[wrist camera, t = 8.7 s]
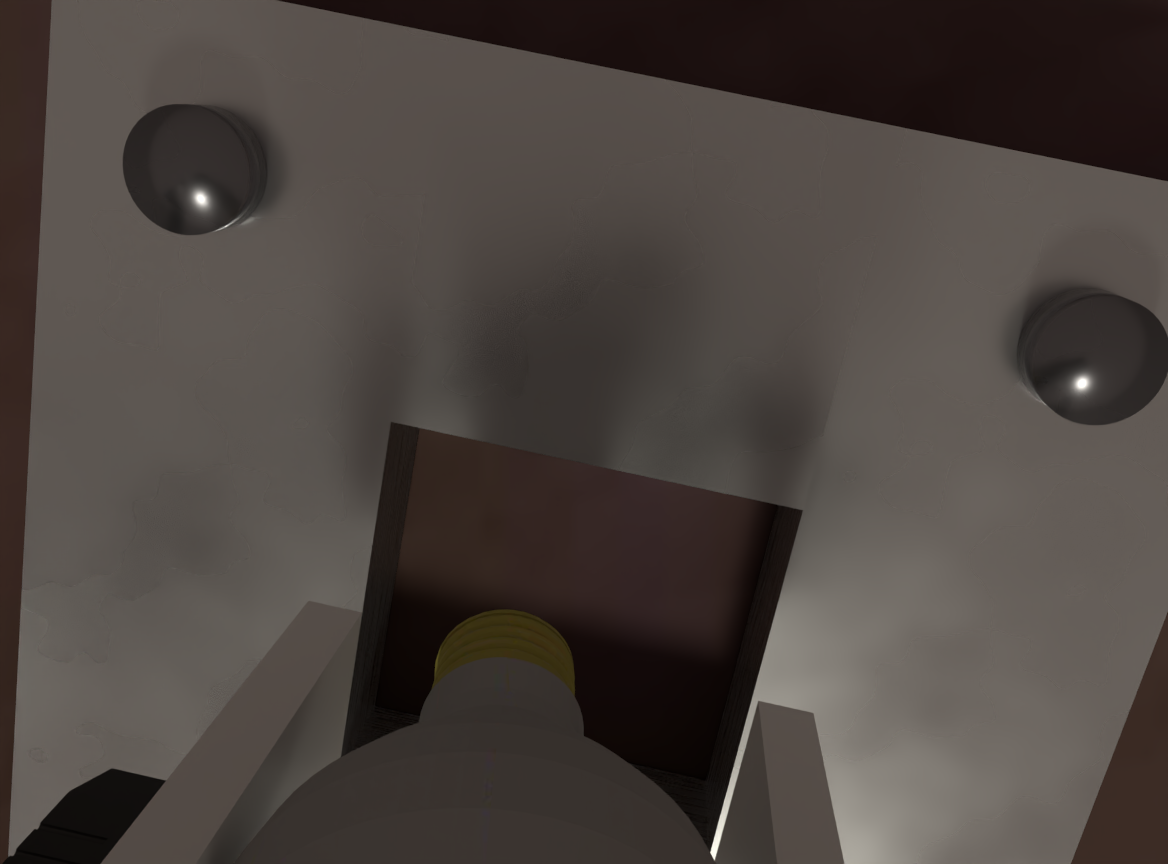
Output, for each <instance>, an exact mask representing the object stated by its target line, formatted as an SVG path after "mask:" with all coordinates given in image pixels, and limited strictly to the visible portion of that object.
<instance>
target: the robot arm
mask: <svg viewBox="0 0 1168 864" xmlns="http://www.w3.org/2000/svg"><path fill="white" fill-rule="evenodd" d="M361 616H362V612H357V611H353V610H348V609H344V608H339V607H335V606H330V605H326V604H321V603H317V602H312V601H308V602H307V603H306V604H305V606H304V607H303V608H302V609H301V611H300V612H299V613H298V614H297V616H296V617H295V618H294V620H293V621H292V622H291V623H290V625H289V626H288V627H287V628H286V630H285V631H284V632H283V633H282V635H281V636H280V637H279V639H278V640H277V641H276V642H275V644H274V645H273V646H272V647H271V649H270V650H269V651H268V652H267V654H266V655H265V656H264V658H263V659H262V660H261V661H260V663H259V664H258V665H257V666H256V668H255V669H254V670H253V671H252V673H251V674H250V675H249V676H248V678H247V679H246V680H245V682H244V683H243V684H242V685H241V687H240V688H239V689H238V690H237V692H236V693H235V694H234V695H233V697H232V698H231V699H230V701H229V702H228V703H227V704H226V706H225V707H224V708H223V709H222V711H221V712H220V713H219V714H218V716H217V717H216V718H215V720H214V721H213V722H212V723H211V725H210V726H209V727H208V728H207V730H206V731H205V732H204V733H203V735H202V736H201V737H200V739H199V740H198V741H197V742H196V744H195V745H194V746H193V747H192V749H191V750H190V751H189V752H188V754H187V755H186V756H185V758H184V759H183V760H182V761H181V763H180V764H179V765H178V766H177V768H176V769H175V770H174V771H173V773H172V774H171V775H170V777H169V778H168V779H167V780H162V779H157V778H153V777H148V776H144V775H140V774H135V773H131V772H127V771H122V770H118V769H114V768H111V769H109V770H107V771H106V772H104V773H102V774H100V775H98V776H96V777H95V778H93V779H91V780H89V781H87V782H85V783H83V784H82V785H80V786H78V787H76V788H74V789H72V790H70V791H69V792H68V793H67V794H66V795H65V796H64V797H63V798H62V800H61V801H60V802H59V803H58V804H57V805H56V806H55V807H54V808H53V809H52V810H51V811H50V813H49V814H48V815H47V816H46V817H45V818H44V819H43V820H42V821H41V822H40V826H39V828H38V829H34V830H33V831H32V832H31V833H30V834H29V835H28V836H27V837H26V839H25V840H24V841H23V842H22V843H21V844H20V845H19V846H18V847H17V848H16V852H15V854H14V855H13V856H9V857H8V858H7V859H6V860H5V861H4V862H3V864H234V862H235V861H236V860H237V858H238V857H239V856H240V855H241V853H242V852H243V851H244V849H245V848H246V847H247V845H248V844H249V843H250V842H251V841H252V839H253V838H254V837H255V836H256V835H257V833H258V832H259V831H260V830H261V828H262V827H263V826H264V825H265V824H266V822H267V821H268V820H269V819H270V818H271V816H272V815H273V814H274V813H275V812H276V810H277V809H278V808H279V807H280V806H281V805H282V804H283V803H284V801H285V800H286V799H287V798H288V797H289V796H290V795H291V794H292V793H293V792H294V791H295V790H296V789H297V788H299V787H300V786H301V785H302V784H303V783H304V782H306V781H307V780H308V779H309V778H310V777H311V776H313V775H314V774H316V773H317V772H319V771H320V770H321V769H323V768H324V767H326V766H327V765H329V764H330V763H332V762H334V761H335V760H337V759H339V758H340V756H341V750H342V743H343V736H344V729H345V723H346V716H347V709H348V703H349V696H350V689H351V683H352V676H353V669H354V663H355V656H356V649H357V643H358V636H359V629H360V623H361ZM715 862H716V864H844V859H843V854H842V849H841V845H840V840H839V835H838V830H837V825H836V820H835V815H834V810H833V806H832V801H831V796H830V791H829V786H828V781H827V776H826V772H825V767H824V762H823V757H822V752H821V747H820V742H819V737H818V733H817V728H816V723H815V718H814V713H811V712H807V711H802V710H798V709H793V708H789V707H784V706H780V705H775V704H771V703H766V702H762V701H758V704H757V707H756V711H755V715H754V718H753V722H752V726H751V729H750V733H749V737H748V740H747V744H746V748H745V751H744V755H743V759H742V762H741V766H740V770H739V773H738V777H737V780H736V784H735V788H734V791H733V795H732V799H731V802H730V806H729V810H728V813H727V817H726V821H725V824H724V828H723V832H722V835H721V839H720V843H719V846H718V850H717V854H716V857H715Z"/></svg>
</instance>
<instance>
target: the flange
mask: <svg viewBox="0 0 1168 864" xmlns="http://www.w3.org/2000/svg"><path fill="white" fill-rule="evenodd" d="M419 428H423V429H427V430H432V431H437V432H441V433H446V434H451V435H455V436H460V437H465V438H469V439H474V440H479V441H483V442H488V443H493V444H497V445H502V446H507V447H511V448H516V449H521V450H525V451H530V452H534V453H539V454H544V455H548V456H553V457H558V458H562V459H567V460H572V461H576V462H581V463H586V464H590V465H595V466H600V467H604V468H609V469H614V470H618V471H623V472H628V473H632V474H637V475H642V476H646V477H651V478H656V479H660V480H665V481H669V482H674V483H679V484H683V485H688V486H693V487H697V488H702V489H707V490H711V491H716V492H721V493H725V494H730V495H735V496H739V497H744V498H749V499H753V500H758V501H763V502H767V503H772V504H777V505H778V506H777V510H776V514H775V518H774V522H773V525H772V529H771V533H770V537H769V541H768V544H767V548H766V552H765V556H764V560H763V563H762V567H761V571H760V575H759V579H758V582H757V586H756V590H755V594H754V598H753V601H752V605H751V609H750V613H749V617H748V620H747V624H746V628H745V632H744V636H743V639H742V643H741V647H740V651H739V655H738V658H737V662H736V666H735V670H734V674H733V677H732V681H731V685H730V689H729V693H728V696H727V700H726V704H725V708H724V712H723V715H722V719H721V723H720V727H719V731H718V734H717V738H716V742H715V746H714V750H713V753H712V757H711V761H710V765H709V769H708V772H707V776H706V780H704V779H700V778H695V777H691V776H686V775H682V774H677V773H673V772H668V771H664V770H659V769H655V768H650V767H646V766H641V765H637V764H632V763H629V764H630V765H632V766H633V767H634V768H636V769H637V770H639V771H640V772H641V773H643V774H644V775H645V776H646V777H648V778H649V779H650V780H652V781H653V782H654V783H656V784H657V785H658V786H659V787H660V788H661V789H662V790H663V791H664V792H665V793H666V794H667V795H669V796H670V797H671V798H672V799H673V800H674V801H675V802H676V804H677V805H678V806H679V807H680V808H681V809H682V811H683V812H684V813H685V814H686V815H687V816H688V818H689V819H690V821H691V822H692V823H693V825H694V826H695V828H696V829H697V831H698V832H699V834H700V835H701V837H702V839H703V841H704V842H705V844H706V846H707V848H708V850H709V851H710V853H711V855H712V857H713V859H714V860H715V857H716V854H717V850H718V846H719V843H720V839H721V835H722V832H723V828H724V824H725V821H726V817H727V813H728V810H729V806H730V802H731V799H732V795H733V791H734V788H735V784H736V780H737V777H738V773H739V770H740V766H741V762H742V759H743V755H744V751H745V748H746V744H747V740H748V737H749V733H750V729H751V726H752V722H753V718H754V715H755V711H756V707H757V704H758V701H762V702H766V703H771V704H775V705H780V706H784V707H789V708H793V709H798V710H802V711H807V712H811V713H814V718H815V723H816V728H817V733H818V737H819V742H820V747H821V752H822V757H823V762H824V767H825V772H826V776H827V781H828V786H829V791H830V796H831V801H832V806H833V810H834V815H835V820H836V825H837V830H838V835H839V840H840V845H841V849H842V854H843V859H844V864H1071V862H1072V859H1073V856H1074V854H1075V851H1076V849H1077V846H1078V843H1079V841H1080V838H1081V836H1082V833H1083V830H1084V828H1085V825H1086V823H1087V820H1088V817H1089V815H1090V812H1091V810H1092V807H1093V804H1094V802H1095V799H1096V797H1097V794H1098V791H1099V789H1100V786H1101V784H1102V781H1103V778H1104V776H1105V773H1106V771H1107V768H1108V765H1109V763H1110V760H1111V758H1112V755H1113V752H1114V750H1115V747H1116V745H1117V742H1118V739H1119V737H1120V734H1121V732H1122V729H1123V726H1124V724H1125V721H1126V719H1127V716H1128V713H1129V711H1130V708H1131V706H1132V703H1133V700H1134V698H1135V695H1136V693H1137V690H1138V687H1139V685H1140V682H1141V680H1142V677H1143V674H1144V672H1145V669H1146V667H1147V664H1148V661H1149V659H1150V656H1151V654H1152V651H1153V648H1154V646H1155V643H1156V641H1157V638H1158V636H1159V633H1160V630H1161V628H1162V625H1163V623H1164V620H1165V617H1166V615H1167V612H1168V181H1163V180H1158V179H1153V178H1148V177H1143V176H1139V175H1134V174H1129V173H1124V172H1119V171H1114V170H1109V169H1104V168H1099V167H1094V166H1089V165H1084V164H1079V163H1075V162H1070V161H1065V160H1060V159H1055V158H1050V157H1045V156H1040V155H1035V154H1030V153H1025V152H1020V151H1016V150H1011V149H1006V148H1001V147H996V146H991V145H986V144H981V143H976V142H971V141H966V140H961V139H956V138H952V137H947V136H942V135H937V134H932V133H927V132H922V131H917V130H912V129H907V128H902V127H897V126H893V125H888V124H883V123H878V122H873V121H868V120H863V119H858V118H853V117H848V116H843V115H838V114H833V113H829V112H824V111H819V110H814V109H809V108H804V107H799V106H794V105H789V104H784V103H779V102H774V101H770V100H765V99H760V98H755V97H750V96H745V95H740V94H735V93H730V92H725V91H720V90H715V89H710V88H706V87H701V86H696V85H691V84H686V83H681V82H676V81H671V80H666V79H661V78H656V77H651V76H647V75H642V74H637V73H632V72H627V71H622V70H617V69H612V68H607V67H602V66H597V65H592V64H587V63H583V62H578V61H573V60H568V59H563V58H558V57H553V56H548V55H543V54H538V53H533V52H528V51H523V50H519V49H514V48H509V47H504V46H499V45H494V44H489V43H484V42H479V41H474V40H469V39H464V38H460V37H455V36H450V35H445V34H440V33H435V32H430V31H425V30H420V29H415V28H410V27H405V26H400V25H396V24H391V23H386V22H381V21H376V20H371V19H366V18H361V17H356V16H351V15H346V14H341V13H337V12H332V11H327V10H322V9H317V8H312V7H307V6H302V5H297V4H292V3H287V2H282V1H277V0H52V9H51V29H50V49H49V68H48V88H47V107H46V127H45V147H44V166H43V186H42V206H41V225H40V245H39V264H38V284H37V304H36V323H35V343H34V362H33V382H32V402H31V421H30V441H29V460H28V480H27V500H26V519H25V539H24V558H23V578H22V598H21V617H20V637H19V657H18V676H17V696H16V715H15V735H14V755H13V774H12V794H11V813H10V833H9V853H8V857H9V856H13V855H14V854H15V852H16V848H17V847H18V846H19V845H20V844H21V843H22V842H23V841H24V840H25V839H26V837H27V836H28V835H29V834H30V833H31V832H32V831H33V830H34V829H38V828H39V826H40V822H41V821H42V820H43V819H44V818H45V817H46V816H47V815H48V814H49V813H50V811H51V810H52V809H53V808H54V807H55V806H56V805H57V804H58V803H59V802H60V801H61V800H62V798H63V797H64V796H65V795H66V794H67V793H68V792H69V791H70V790H72V789H74V788H76V787H78V786H80V785H82V784H83V783H85V782H87V781H89V780H91V779H93V778H95V777H96V776H98V775H100V774H102V773H104V772H106V771H107V770H109V769H111V768H114V769H118V770H122V771H127V772H131V773H135V774H140V775H144V776H148V777H153V778H157V779H162V780H167V779H168V778H169V777H170V775H171V774H172V773H173V771H174V770H175V769H176V768H177V766H178V765H179V764H180V763H181V761H182V760H183V759H184V758H185V756H186V755H187V754H188V752H189V751H190V750H191V749H192V747H193V746H194V745H195V744H196V742H197V741H198V740H199V739H200V737H201V736H202V735H203V733H204V732H205V731H206V730H207V728H208V727H209V726H210V725H211V723H212V722H213V721H214V720H215V718H216V717H217V716H218V714H219V713H220V712H221V711H222V709H223V708H224V707H225V706H226V704H227V703H228V702H229V701H230V699H231V698H232V697H233V695H234V694H235V693H236V692H237V690H238V689H239V688H240V687H241V685H242V684H243V683H244V682H245V680H246V679H247V678H248V676H249V675H250V674H251V673H252V671H253V670H254V669H255V668H256V666H257V665H258V664H259V663H260V661H261V660H262V659H263V658H264V656H265V655H266V654H267V652H268V651H269V650H270V649H271V647H272V646H273V645H274V644H275V642H276V641H277V640H278V639H279V637H280V636H281V635H282V633H283V632H284V631H285V630H286V628H287V627H288V626H289V625H290V623H291V622H292V621H293V620H294V618H295V617H296V616H297V614H298V613H299V612H300V611H301V609H302V608H303V607H304V606H305V604H306V603H307V602H308V601H312V602H317V603H321V604H326V605H330V606H335V607H339V608H344V609H348V610H353V611H357V612H362V616H361V623H360V629H359V636H358V643H357V649H356V656H355V663H354V669H353V676H352V683H351V689H350V696H349V703H348V709H347V716H346V723H345V729H344V736H343V743H342V750H341V756H340V758H341V757H342V756H344V755H346V754H348V753H350V752H351V751H353V750H356V749H358V748H360V747H362V746H364V745H366V744H368V743H370V742H372V741H374V740H376V739H378V738H380V737H383V736H385V735H387V734H389V733H392V732H394V731H396V730H399V729H402V728H405V727H408V726H411V725H414V724H417V723H419V719H420V716H417V715H413V714H408V713H404V712H399V711H395V710H390V709H386V708H381V707H377V706H375V704H376V698H377V692H378V685H379V679H380V673H381V666H382V660H383V654H384V647H385V641H386V635H387V629H388V622H389V616H390V610H391V603H392V597H393V591H394V584H395V578H396V572H397V565H398V559H399V553H400V547H401V540H402V534H403V528H404V521H405V515H406V509H407V502H408V496H409V490H410V483H411V477H412V471H413V465H414V458H415V452H416V446H417V439H418V433H419ZM627 763H628V762H627Z"/></svg>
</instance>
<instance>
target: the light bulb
mask: <svg viewBox="0 0 1168 864" xmlns="http://www.w3.org/2000/svg"><path fill="white" fill-rule="evenodd" d="M574 680H575V675H574V665H573V659H572V654H571V651H570V649H569V647H568V645H567V642H566V641H565V640H564V638H563V637H562V636H561V634H560V633H559V632H558V631H557V630H556V629H555V628H553V627H552V626H551V625H550V624H548V623H547V622H545V621H544V620H542V619H540V618H539V617H537V616H534V615H532V614H529V613H526V612H523V611H517V610H508V609H498V610H492V611H487V612H483V613H481V614H478V615H475V616H473V617H470V618H468V619H467V620H465V621H463V622H462V623H460V624H459V625H457V626H456V627H455V628H454V629H453V630H452V631H451V632H450V633H449V634H448V635H447V637H446V638H445V640H444V641H443V643H442V645H441V646H440V649H439V652H438V655H437V658H436V662H435V678H434V683H433V686H432V690H431V692H430V693H429V695H428V696H427V698H426V700H425V702H424V705H423V708H422V710H421V714H420V719H419V723H417V724H414V725H411V726H408V727H405V728H402V729H399V730H396V731H394V732H392V733H389V734H387V735H385V736H383V737H380V738H378V739H376V740H374V741H372V742H370V743H368V744H366V745H364V746H362V747H360V748H358V749H356V750H353V751H351V752H350V753H348V754H346V755H344V756H342V757H341V758H339V759H337V760H335V761H334V762H332V763H330V764H329V765H327V766H326V767H324V768H323V769H321V770H320V771H319V772H317V773H316V774H314V775H313V776H311V777H310V778H309V779H308V780H307V781H306V782H304V783H303V784H302V785H301V786H300V787H299V788H297V789H296V790H295V791H294V792H293V793H292V794H291V795H290V796H289V797H288V798H287V799H286V800H285V801H284V803H283V804H282V805H281V806H280V807H279V808H278V809H277V810H276V812H275V813H274V814H273V815H272V816H271V818H270V819H269V820H268V821H267V822H266V824H265V825H264V826H263V827H262V828H261V830H260V831H259V832H258V833H257V835H256V836H255V837H254V838H253V839H252V841H251V842H250V843H249V844H248V845H247V847H246V848H245V849H244V851H243V852H242V853H241V855H240V856H239V857H238V858H237V860H236V861H235V862H234V864H716V862H715V860H714V859H713V857H712V855H711V853H710V851H709V850H708V848H707V846H706V844H705V842H704V841H703V839H702V837H701V835H700V834H699V832H698V831H697V829H696V828H695V826H694V825H693V823H692V822H691V821H690V819H689V818H688V816H687V815H686V814H685V813H684V812H683V811H682V809H681V808H680V807H679V806H678V805H677V804H676V802H675V801H674V800H673V799H672V798H671V797H670V796H669V795H667V794H666V793H665V792H664V791H663V790H662V789H661V788H660V787H659V786H658V785H657V784H656V783H654V782H653V781H652V780H650V779H649V778H648V777H646V776H645V775H644V774H643V773H641V772H640V771H639V770H637V769H636V768H634V767H633V766H632V765H630V764H629V763H627V762H626V761H625V760H623V759H622V758H620V757H619V756H618V755H616V754H615V753H613V752H611V751H610V750H608V749H607V748H605V747H604V746H602V745H600V744H599V743H597V742H595V741H593V740H591V739H589V738H587V737H585V736H584V726H583V718H582V713H581V710H580V707H579V705H578V702H577V700H576V699H575V684H574Z"/></svg>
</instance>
